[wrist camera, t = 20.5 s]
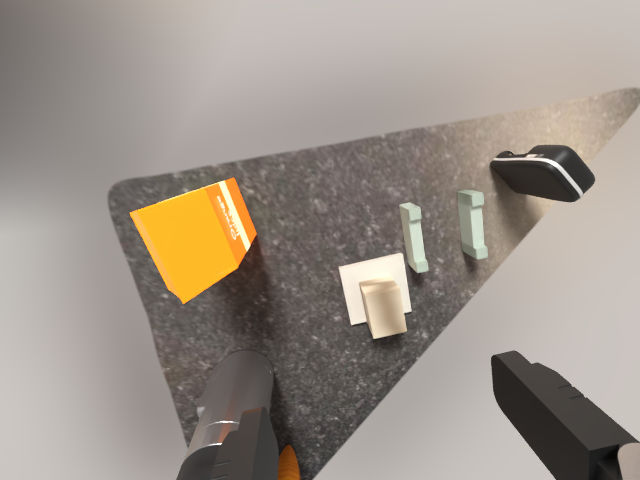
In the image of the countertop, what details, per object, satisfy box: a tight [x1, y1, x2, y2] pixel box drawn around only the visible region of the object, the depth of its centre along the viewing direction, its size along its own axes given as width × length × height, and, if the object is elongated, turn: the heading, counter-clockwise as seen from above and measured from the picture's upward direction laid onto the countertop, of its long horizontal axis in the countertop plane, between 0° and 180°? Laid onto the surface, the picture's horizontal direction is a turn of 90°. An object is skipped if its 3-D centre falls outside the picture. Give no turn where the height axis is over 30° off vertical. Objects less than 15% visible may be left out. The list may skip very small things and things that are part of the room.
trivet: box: [339, 253, 411, 325], centre depth 49 cm, size 10×10×1 cm
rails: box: [399, 189, 488, 273], centre depth 45 cm, size 10×10×4 cm
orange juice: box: [130, 178, 256, 304], centre depth 35 cm, size 8×9×20 cm
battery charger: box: [490, 145, 595, 202], centre depth 40 cm, size 7×4×11 cm, turn 48°
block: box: [359, 275, 407, 339], centre depth 46 cm, size 5×7×5 cm
